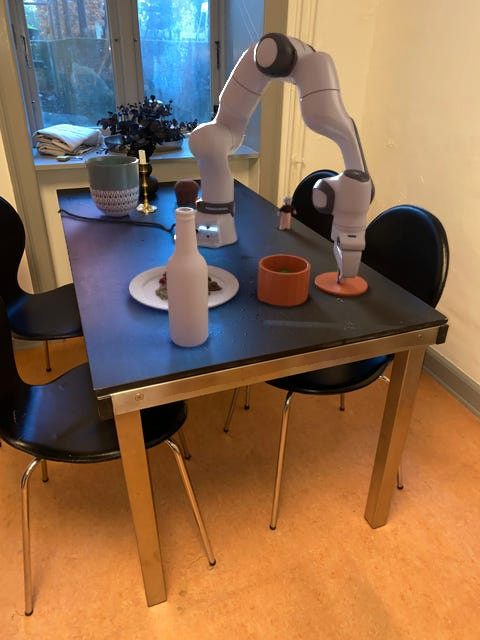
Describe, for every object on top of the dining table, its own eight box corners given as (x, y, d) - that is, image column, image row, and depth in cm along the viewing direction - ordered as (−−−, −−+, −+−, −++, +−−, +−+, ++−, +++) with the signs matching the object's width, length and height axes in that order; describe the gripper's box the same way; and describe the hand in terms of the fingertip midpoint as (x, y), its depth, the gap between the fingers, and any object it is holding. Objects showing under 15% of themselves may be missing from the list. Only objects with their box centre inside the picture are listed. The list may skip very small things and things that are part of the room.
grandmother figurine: (280, 231, 176) (282, 197, 169) (274, 228, 179) (276, 195, 172) (297, 228, 179) (299, 195, 173) (291, 225, 182) (294, 193, 176)
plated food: (195, 328, 111) (195, 315, 110) (105, 296, 125) (104, 285, 123) (258, 284, 134) (259, 273, 132) (176, 261, 147) (176, 251, 146)
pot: (256, 306, 122) (258, 273, 117) (257, 284, 134) (259, 253, 129) (308, 308, 121) (312, 275, 117) (305, 286, 133) (308, 255, 128)
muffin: (169, 204, 204) (168, 181, 199) (179, 198, 213) (178, 176, 208) (194, 207, 201) (194, 183, 196) (204, 200, 210) (203, 178, 205)
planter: (117, 225, 177) (111, 167, 167) (81, 216, 186) (73, 161, 175) (152, 213, 192) (148, 159, 181) (117, 205, 201) (111, 153, 190)
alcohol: (212, 345, 105) (211, 214, 90) (173, 350, 102) (166, 217, 88) (203, 326, 112) (201, 202, 97) (167, 331, 110) (159, 205, 95)
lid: (317, 296, 128) (319, 277, 125) (312, 274, 140) (314, 256, 138) (371, 299, 127) (374, 279, 124) (361, 277, 140) (364, 258, 137)
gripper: (331, 221, 135) (326, 265, 142) (341, 245, 117) (334, 294, 124) (353, 221, 135) (347, 266, 142) (366, 246, 117) (358, 295, 124)
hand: (341, 279), depth 133 cm, fingers closed on lid, 2 cm apart
